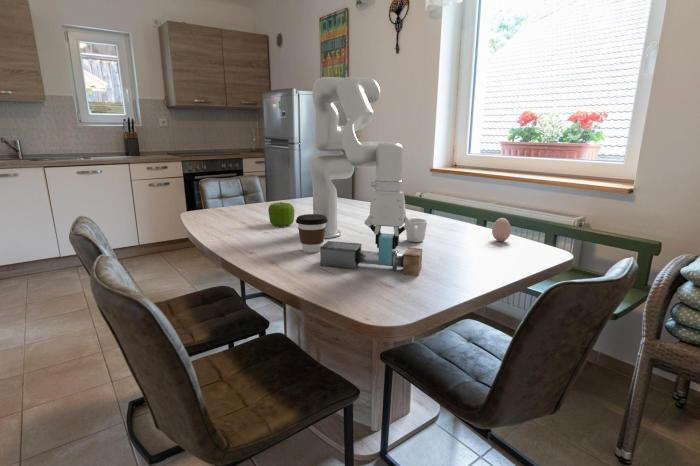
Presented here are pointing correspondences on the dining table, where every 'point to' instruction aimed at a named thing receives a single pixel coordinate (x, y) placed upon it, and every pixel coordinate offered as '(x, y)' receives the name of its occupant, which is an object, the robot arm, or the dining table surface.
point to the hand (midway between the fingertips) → (386, 246)
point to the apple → (281, 214)
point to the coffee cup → (311, 231)
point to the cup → (416, 230)
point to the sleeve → (339, 254)
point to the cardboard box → (412, 261)
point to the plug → (382, 254)
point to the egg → (501, 229)
